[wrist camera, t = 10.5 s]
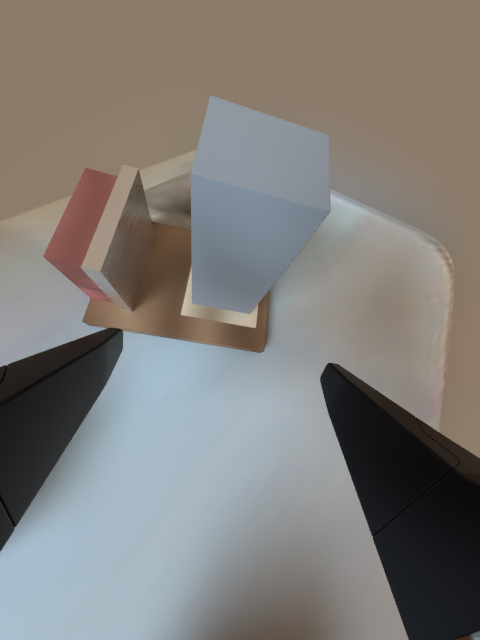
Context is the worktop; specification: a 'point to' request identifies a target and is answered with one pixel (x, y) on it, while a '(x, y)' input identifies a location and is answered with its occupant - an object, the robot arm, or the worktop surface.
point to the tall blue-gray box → (252, 202)
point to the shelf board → (140, 268)
